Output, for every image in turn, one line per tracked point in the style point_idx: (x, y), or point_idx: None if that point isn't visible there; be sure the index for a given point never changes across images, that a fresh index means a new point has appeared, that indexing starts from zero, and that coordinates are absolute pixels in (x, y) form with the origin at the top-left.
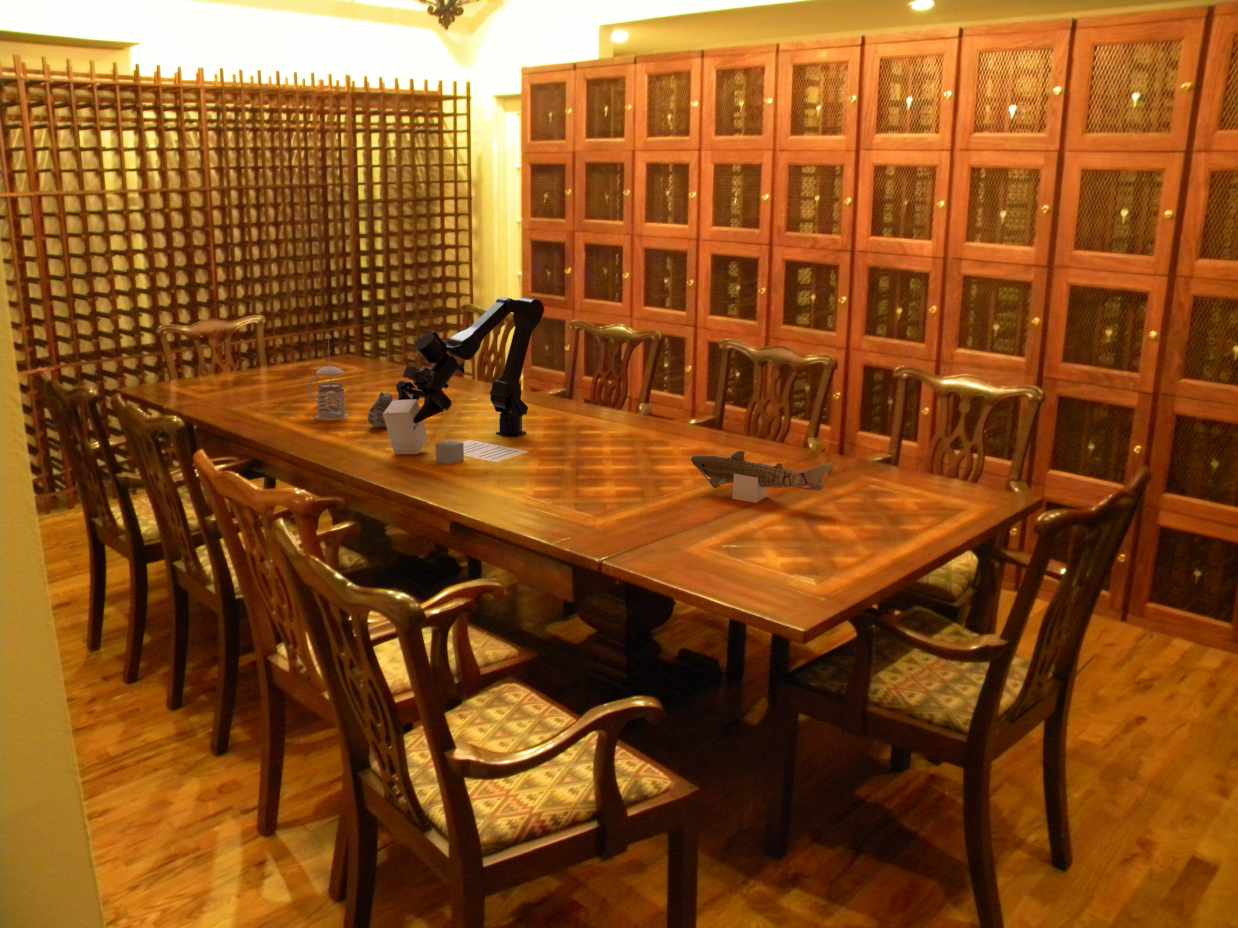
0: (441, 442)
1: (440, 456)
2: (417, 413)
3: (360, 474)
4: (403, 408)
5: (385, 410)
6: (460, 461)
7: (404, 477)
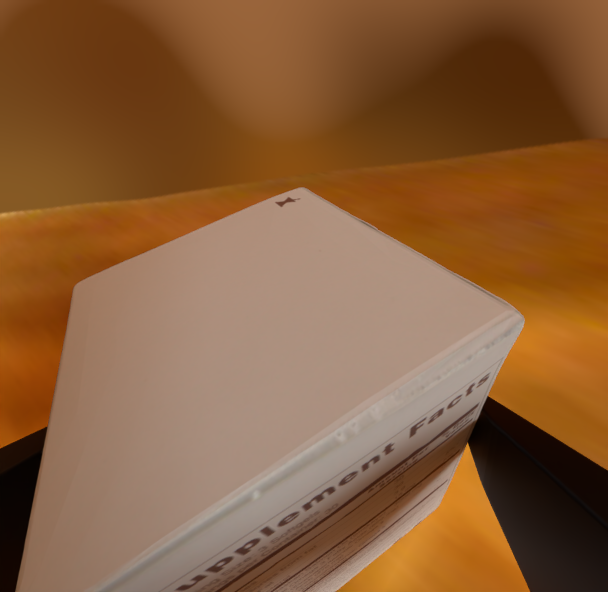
0: None
1: None
2: None
3: (225, 199)
4: (152, 285)
5: (325, 201)
6: None
7: (111, 264)
